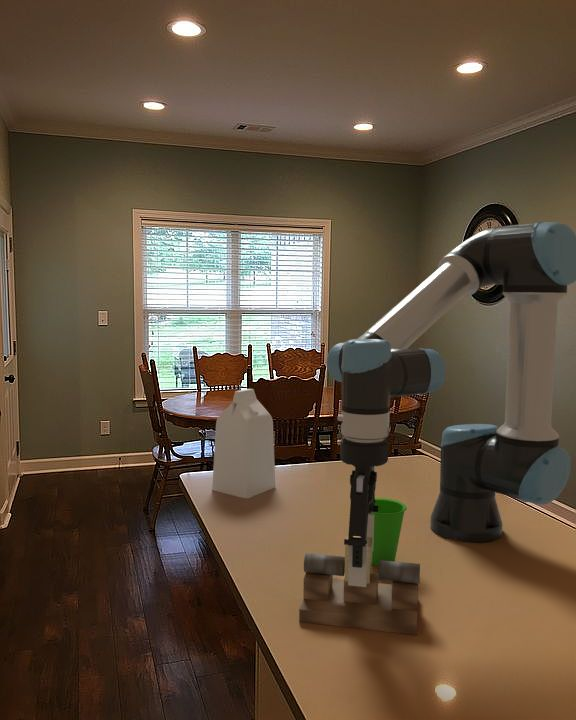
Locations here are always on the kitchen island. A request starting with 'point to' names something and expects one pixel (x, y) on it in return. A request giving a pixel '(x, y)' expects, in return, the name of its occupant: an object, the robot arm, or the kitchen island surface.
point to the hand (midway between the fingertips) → (361, 566)
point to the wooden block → (369, 559)
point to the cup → (387, 529)
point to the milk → (244, 448)
